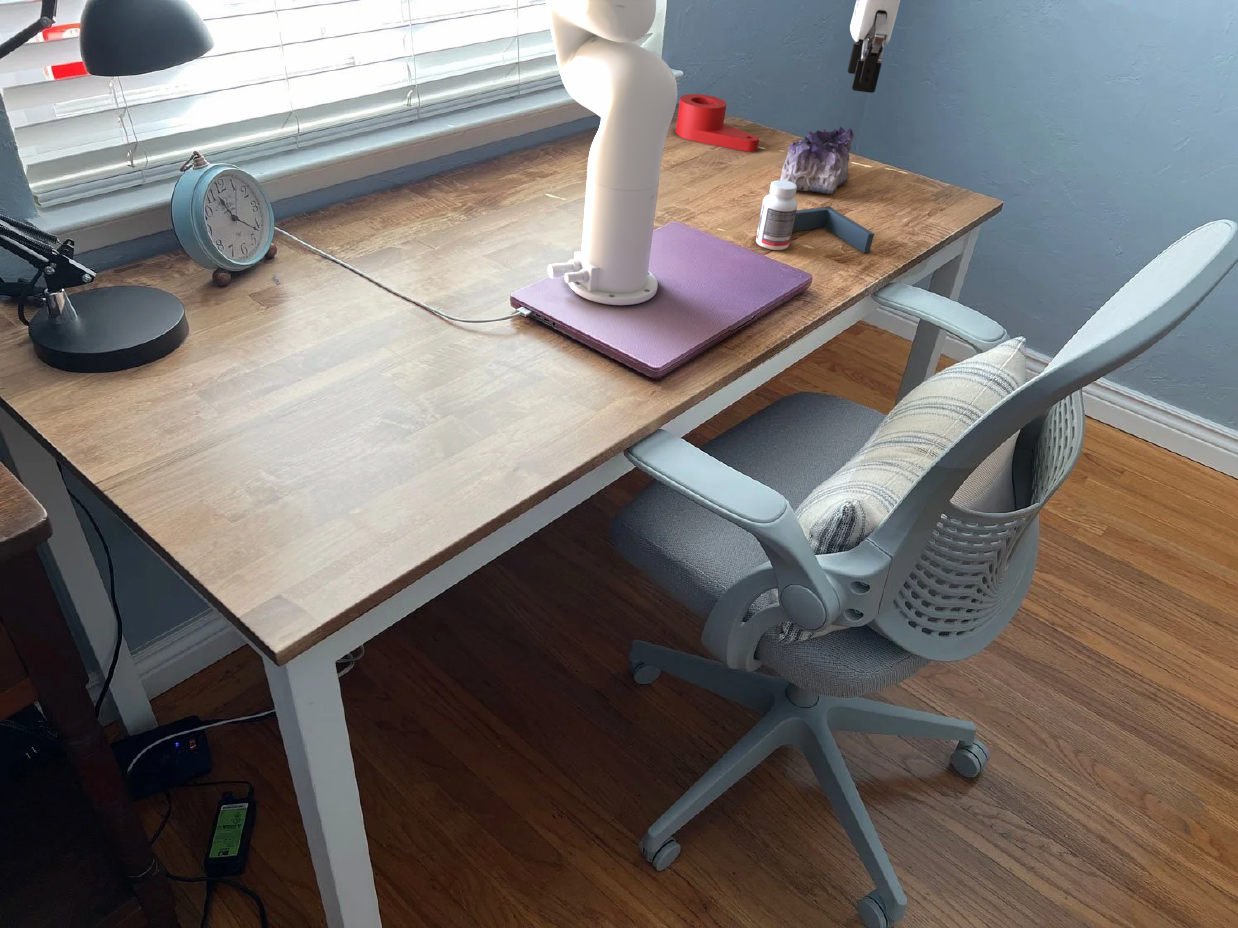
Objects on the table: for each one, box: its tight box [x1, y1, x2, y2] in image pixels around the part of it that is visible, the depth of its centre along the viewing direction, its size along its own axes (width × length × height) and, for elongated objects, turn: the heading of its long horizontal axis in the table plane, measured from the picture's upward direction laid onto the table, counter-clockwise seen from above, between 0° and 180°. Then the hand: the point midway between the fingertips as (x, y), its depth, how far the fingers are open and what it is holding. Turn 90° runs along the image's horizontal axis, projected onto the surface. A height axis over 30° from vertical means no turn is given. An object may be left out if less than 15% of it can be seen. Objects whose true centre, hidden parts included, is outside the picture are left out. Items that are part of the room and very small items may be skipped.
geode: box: [779, 126, 855, 195], centre depth 175 cm, size 20×12×10 cm, turn 155°
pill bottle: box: [755, 179, 798, 251], centre depth 149 cm, size 5×5×10 cm
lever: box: [675, 93, 760, 153], centre depth 191 cm, size 18×9×7 cm, turn 57°
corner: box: [792, 205, 875, 254], centre depth 153 cm, size 13×12×3 cm
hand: (860, 82), depth 138 cm, fingers open, 9 cm apart
